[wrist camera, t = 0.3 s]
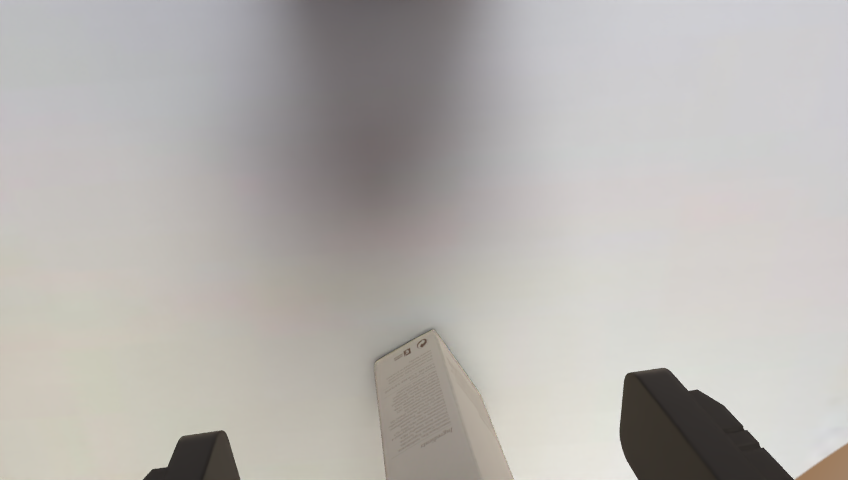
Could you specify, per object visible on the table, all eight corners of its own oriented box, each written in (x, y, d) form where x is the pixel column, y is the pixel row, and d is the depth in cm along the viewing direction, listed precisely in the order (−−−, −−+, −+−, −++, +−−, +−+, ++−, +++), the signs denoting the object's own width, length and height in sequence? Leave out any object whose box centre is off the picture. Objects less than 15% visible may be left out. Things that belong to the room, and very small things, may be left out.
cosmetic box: (369, 362, 30) (380, 564, 19) (437, 322, 30) (488, 505, 19) (425, 430, 33) (463, 643, 21) (488, 394, 32) (560, 594, 21)
